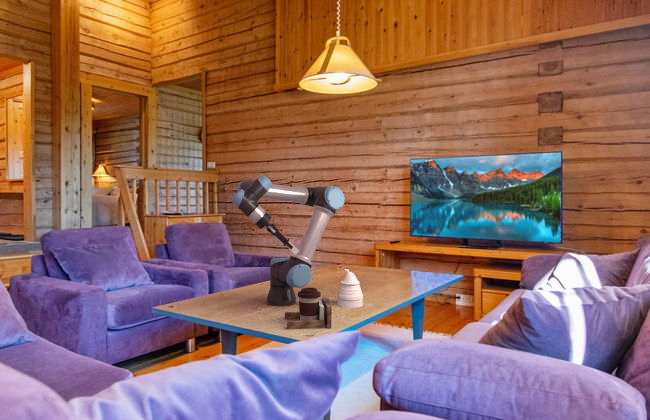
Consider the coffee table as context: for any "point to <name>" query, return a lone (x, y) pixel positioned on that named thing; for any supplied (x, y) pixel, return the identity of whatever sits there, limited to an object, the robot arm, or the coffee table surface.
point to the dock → (310, 323)
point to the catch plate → (321, 311)
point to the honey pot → (350, 292)
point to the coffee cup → (309, 304)
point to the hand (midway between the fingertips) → (297, 252)
